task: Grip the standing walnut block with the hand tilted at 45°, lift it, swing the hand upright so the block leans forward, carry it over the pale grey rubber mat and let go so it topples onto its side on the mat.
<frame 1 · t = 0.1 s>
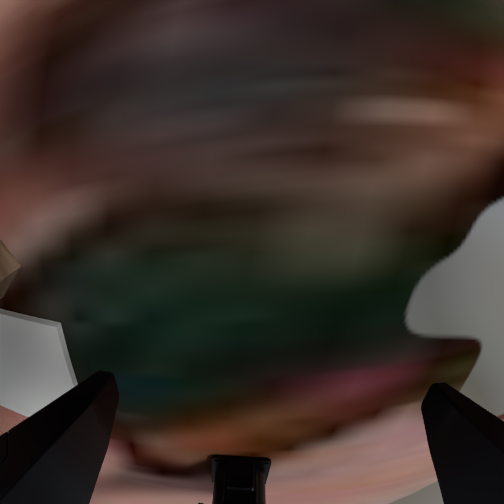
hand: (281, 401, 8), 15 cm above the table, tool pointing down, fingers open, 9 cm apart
grey mat: (21, 370, 27), on the table
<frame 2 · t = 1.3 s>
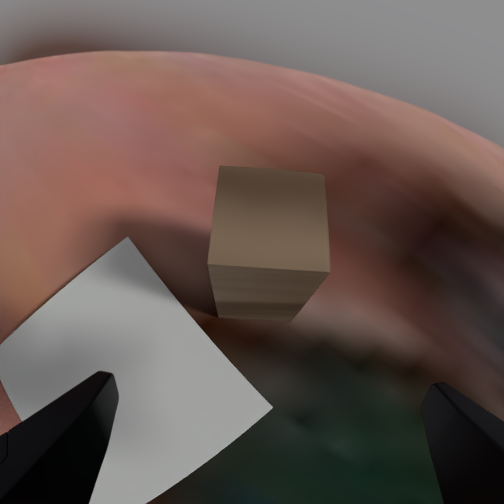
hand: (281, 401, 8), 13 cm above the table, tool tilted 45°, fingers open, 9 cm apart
grey mat: (107, 388, 19), on the table
walnut block: (256, 285, 23), on the table
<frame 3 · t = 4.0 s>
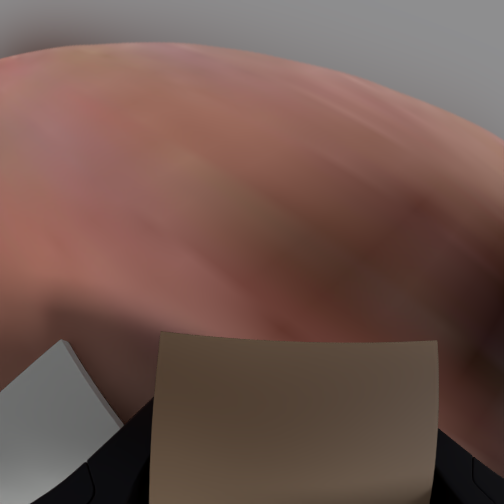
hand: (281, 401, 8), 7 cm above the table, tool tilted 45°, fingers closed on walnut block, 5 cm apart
walnut block: (259, 425, 13), on the table, touching gripper
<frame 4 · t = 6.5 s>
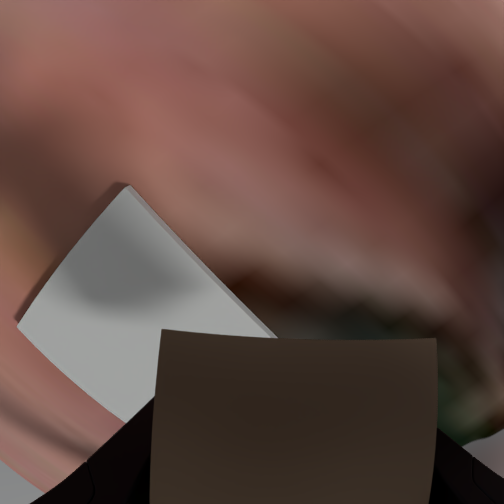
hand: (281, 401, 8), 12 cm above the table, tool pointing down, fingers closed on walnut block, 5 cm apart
grey mat: (140, 344, 22), on the table
walnut block: (259, 424, 13), point 8 cm above the table, tilted 45°, touching gripper
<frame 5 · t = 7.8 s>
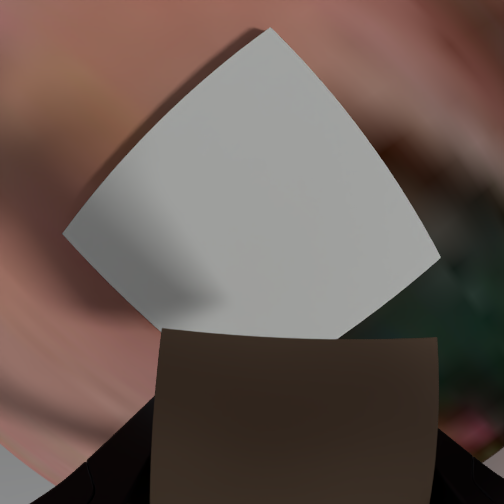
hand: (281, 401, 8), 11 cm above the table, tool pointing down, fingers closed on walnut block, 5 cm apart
grey mat: (254, 239, 18), on the table
walnut block: (259, 423, 13), point 7 cm above the table, tilted 45°, touching gripper
when the fingers open (8 cm above the table, at t = 9.0 s): walnut block moves 2 cm and tips over, resting on grey mat.
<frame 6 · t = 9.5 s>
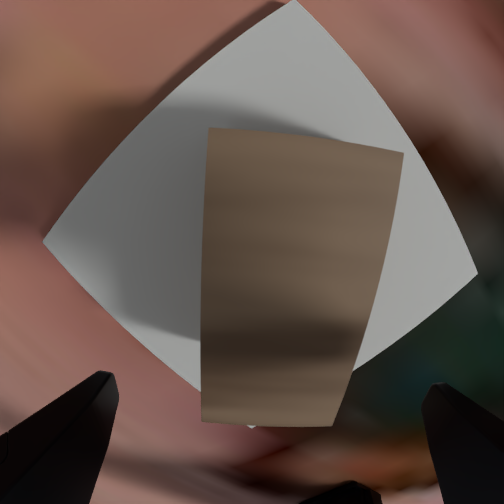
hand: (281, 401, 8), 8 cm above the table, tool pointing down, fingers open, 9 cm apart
grey mat: (270, 253, 15), on the table
walnut block: (266, 383, 13), point 3 cm above the table, tilted 90°, touching grey mat
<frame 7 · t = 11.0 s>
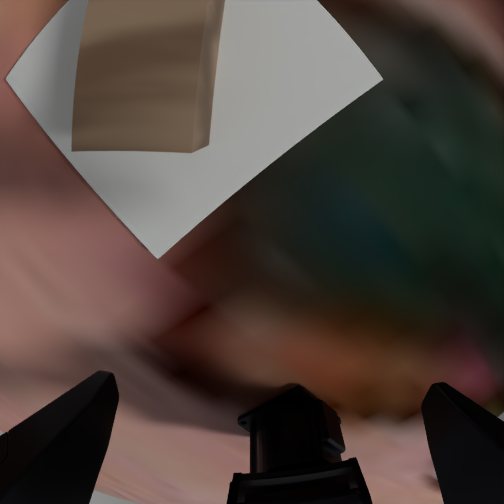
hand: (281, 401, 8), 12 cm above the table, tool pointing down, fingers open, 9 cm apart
grey mat: (170, 58, 15), on the table
walnut block: (146, 146, 13), point 3 cm above the table, tilted 90°, touching grey mat
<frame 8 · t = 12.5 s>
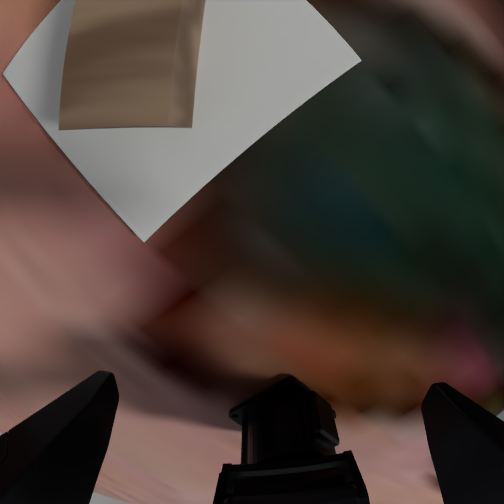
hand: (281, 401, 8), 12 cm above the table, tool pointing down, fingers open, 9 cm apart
grey mat: (155, 48, 15), on the table
walnut block: (130, 127, 13), point 3 cm above the table, tilted 90°, touching grey mat
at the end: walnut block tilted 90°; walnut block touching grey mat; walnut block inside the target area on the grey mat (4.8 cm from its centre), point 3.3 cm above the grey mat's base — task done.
